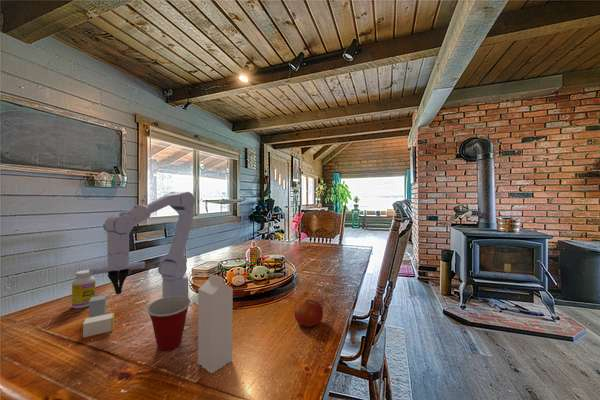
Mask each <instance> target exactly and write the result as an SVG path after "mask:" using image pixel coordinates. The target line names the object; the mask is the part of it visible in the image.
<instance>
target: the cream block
mask: <svg viewBox="0 0 600 400" xmlns="http://www.w3.org/2000/svg"><path fill="white" fill-rule="evenodd" d="M114 326H115V312H111V313H106V315H101V316H96V317H91V318H89V317H87V318H85V319H84V321H83V324H82V338H87V337H91V336H97V335H100V334H103V333H104V334H105V333H110V332H113V331H114V328H115V327H114Z"/></svg>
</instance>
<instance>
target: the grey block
mask: <svg viewBox="0 0 600 400" xmlns="http://www.w3.org/2000/svg"><path fill="white" fill-rule="evenodd" d="M88 314H89V315H88V318H91V317H96V316H101V315H106V314H107V294H104V295H99V296H98V295H97V296H95V297H91V299H90V301H89V306H88Z"/></svg>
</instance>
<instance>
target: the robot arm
mask: <svg viewBox="0 0 600 400" xmlns="http://www.w3.org/2000/svg"><path fill="white" fill-rule="evenodd" d="M195 205H196V198H195V196H194V194H193V193H191V192H190V191H182V192H181V191H171V192H169V193H165V194H164V195H162V196H161V197H159V198H157V199H156V200H155V199H154V200H153V201H152V202H150V203H148V204H146V205H144V204H134V205H132V208H129V209H127V210H126V211H122V210H121V211H120V212H119V215H112V216H109V217H107V219H106V220H105V222H104V224H102V228H103V230H104V231H105V233H106V234H107V235H106V238H107V241H106V242H107V244H106V245H107V248H106V249H107V264H106V265H102V266H95V267H90V268H89V269H88V270H89V276H94V275H99V274H101V275H102V274H107V277H108V279H109V280H110V282H111V284H112V285H113V288H114V291H115V295H120V294H122V290H123V286H124V282H125V280H126V278H127V276H128V274H129V270H138V269H145V268H146V267H145V266H146V264H145V263H146V262H145V261H137V262H134V261H133V262H130V232H132V230H133V228H134V227H135V226H138V225H139V224H141V223H143V222H145V221H147V220H148V219H150V217H151V214H153V213H155V212H157V211H160V210H162V209H164V208H166V207H168V206H169V207H171V209H173V210H174V211H175V212H176V213H177V214H178V218H177V223H176V226H175V230H174V234H173V237H172V240H171V243H170V248H169V251H168V253H167V254H165V255H164V256H163V257H162V261H161V262H160V263H159V265H158V268H157V270H158V271H157V272H158V273H159V275H161V279H162V282H161V283H162V291H161V294H162V295H161V296H160V299H161V298H164V297H168V296H178V295H179V296H186V297H188V298H189V291H190V290H189V276H188V275H186V273H187V271H188V267H187V263H188V259H187V258H186V256H185V255H184V254H185V250H186V247H187V241H188V238H189V234H190V231H191V228H192V227H191V226H192V223H193V219H194V215H195Z"/></svg>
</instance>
